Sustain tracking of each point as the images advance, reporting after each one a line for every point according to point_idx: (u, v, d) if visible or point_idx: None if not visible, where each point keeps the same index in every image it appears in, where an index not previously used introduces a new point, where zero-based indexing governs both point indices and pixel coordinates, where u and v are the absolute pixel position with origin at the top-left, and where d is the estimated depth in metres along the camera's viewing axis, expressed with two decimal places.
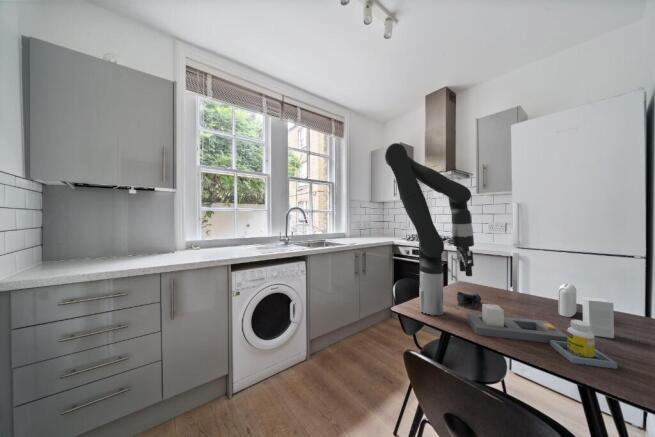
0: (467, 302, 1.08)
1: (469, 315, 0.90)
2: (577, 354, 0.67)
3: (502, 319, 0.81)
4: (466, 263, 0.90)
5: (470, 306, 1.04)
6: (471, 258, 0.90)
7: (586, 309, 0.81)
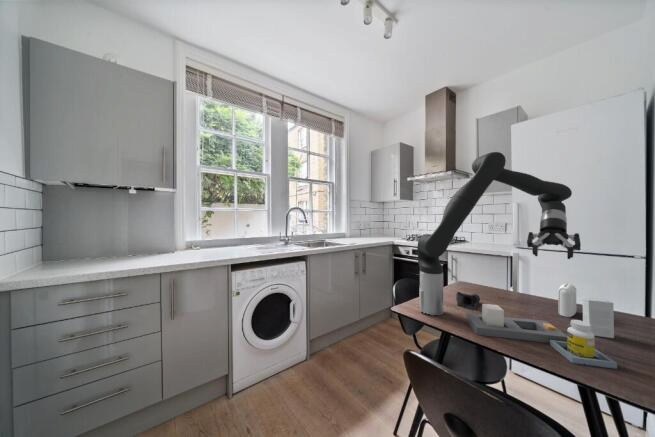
0: (466, 302, 1.08)
1: (469, 315, 0.90)
2: (577, 354, 0.67)
3: (502, 319, 0.81)
4: (579, 243, 0.81)
5: (469, 306, 1.03)
6: (579, 242, 0.83)
7: (586, 309, 0.81)
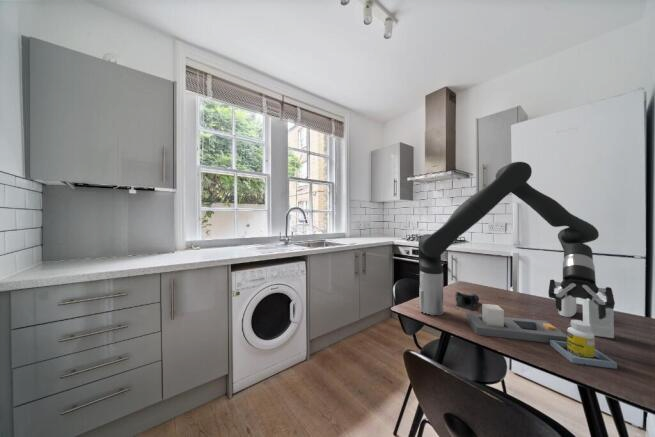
0: (465, 303, 1.08)
1: (469, 315, 0.90)
2: (577, 354, 0.67)
3: (502, 319, 0.81)
4: (613, 301, 0.69)
5: (469, 306, 1.03)
6: None
7: (586, 309, 0.81)
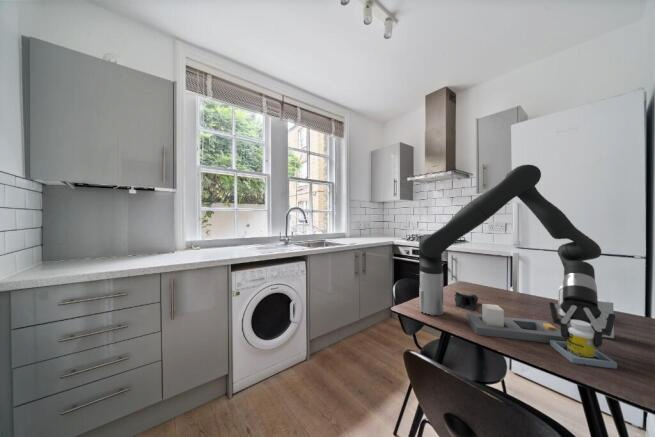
0: (464, 303, 1.07)
1: (469, 315, 0.90)
2: (577, 354, 0.67)
3: (502, 319, 0.81)
4: (611, 329, 0.64)
5: (468, 307, 1.03)
6: (612, 326, 0.66)
7: None
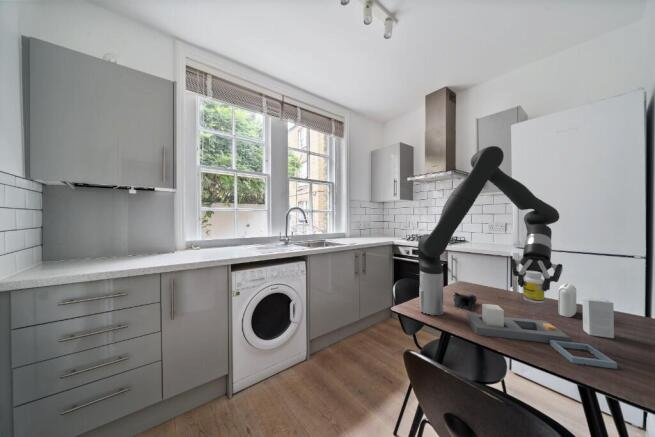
0: (463, 303, 1.07)
1: (469, 315, 0.90)
2: (530, 298, 0.78)
3: (502, 319, 0.81)
4: (557, 275, 0.76)
5: (467, 307, 1.02)
6: (560, 274, 0.77)
7: (586, 309, 0.81)
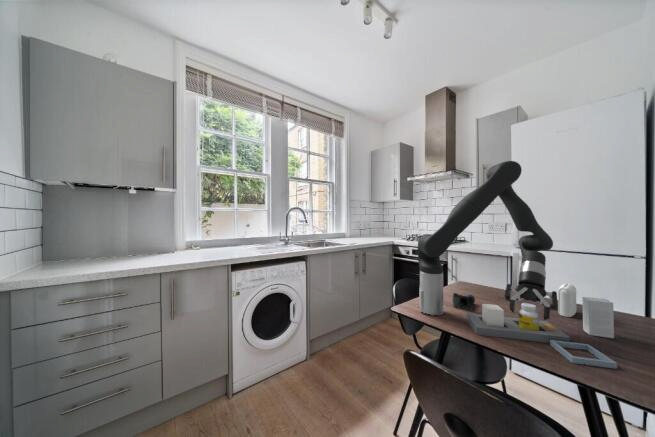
0: (462, 303, 1.07)
1: (469, 315, 0.90)
2: None
3: (502, 319, 0.81)
4: (557, 304, 0.78)
5: (466, 308, 1.02)
6: None
7: (586, 309, 0.81)
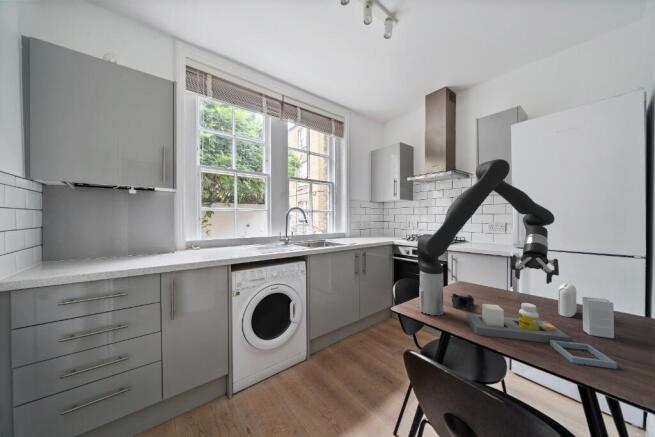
0: (461, 304, 1.06)
1: (469, 315, 0.90)
2: None
3: (502, 319, 0.81)
4: (558, 269, 0.86)
5: (465, 308, 1.02)
6: (558, 268, 0.88)
7: (586, 309, 0.81)
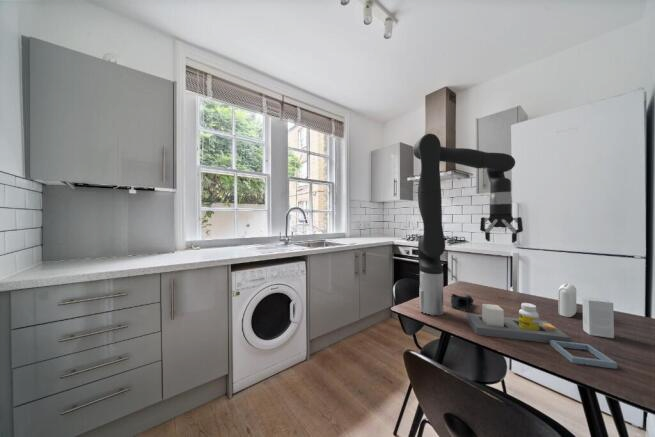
0: (460, 304, 1.06)
1: (469, 315, 0.90)
2: None
3: (502, 319, 0.81)
4: (521, 229, 0.92)
5: (465, 308, 1.01)
6: None
7: (586, 309, 0.81)
